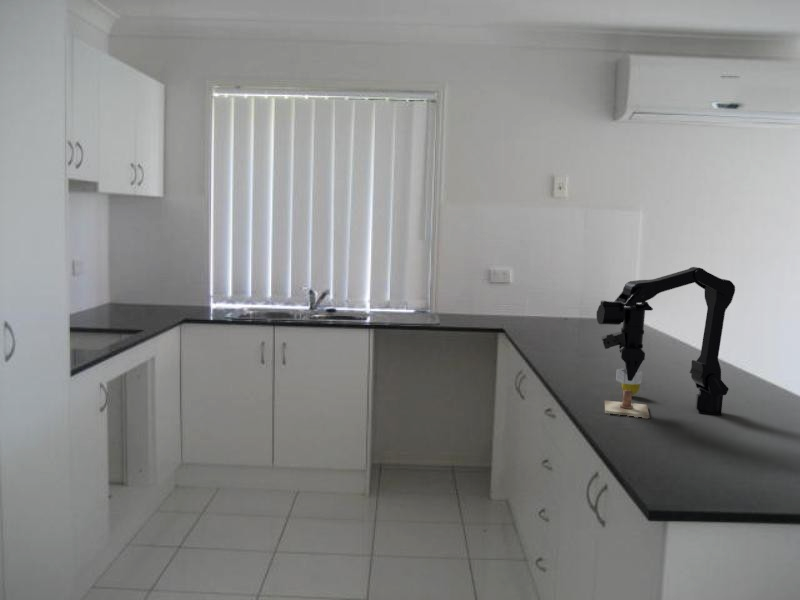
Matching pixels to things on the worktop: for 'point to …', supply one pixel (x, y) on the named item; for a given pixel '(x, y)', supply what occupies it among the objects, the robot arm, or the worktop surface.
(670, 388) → the worktop surface
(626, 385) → the lemon
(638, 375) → the ring
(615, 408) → the post stand
